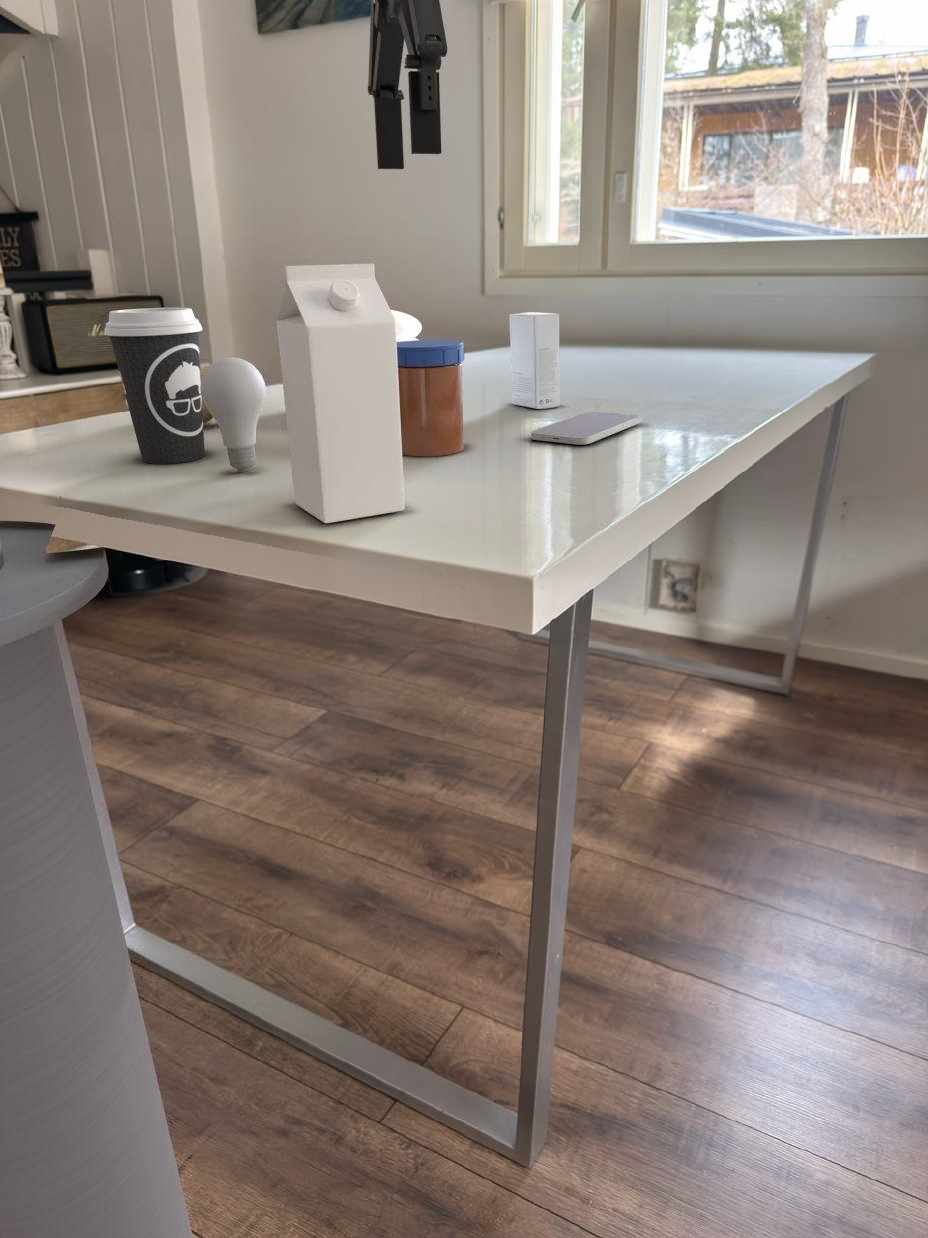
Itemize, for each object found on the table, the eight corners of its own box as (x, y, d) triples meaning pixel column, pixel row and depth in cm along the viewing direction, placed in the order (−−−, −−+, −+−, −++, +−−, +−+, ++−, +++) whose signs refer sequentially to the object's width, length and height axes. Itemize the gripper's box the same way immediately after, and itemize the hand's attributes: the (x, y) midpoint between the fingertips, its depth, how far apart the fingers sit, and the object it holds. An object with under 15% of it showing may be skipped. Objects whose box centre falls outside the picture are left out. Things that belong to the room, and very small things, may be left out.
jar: (428, 459, 89) (424, 353, 85) (379, 450, 94) (373, 349, 90) (478, 447, 94) (476, 346, 90) (429, 439, 99) (426, 342, 95)
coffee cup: (217, 445, 98) (198, 305, 93) (221, 462, 90) (201, 310, 84) (128, 452, 96) (103, 309, 90) (125, 470, 87) (97, 314, 82)
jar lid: (424, 368, 85) (423, 348, 84) (371, 363, 90) (370, 344, 90) (479, 360, 90) (479, 341, 90) (426, 355, 96) (425, 338, 95)
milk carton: (294, 505, 74) (270, 265, 66) (370, 493, 77) (356, 263, 69) (324, 525, 68) (301, 265, 60) (405, 512, 71) (393, 263, 64)
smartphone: (526, 432, 97) (588, 410, 108) (526, 440, 97) (588, 417, 108) (585, 438, 93) (643, 415, 104) (585, 446, 93) (643, 422, 104)
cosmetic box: (561, 406, 117) (563, 312, 113) (534, 410, 115) (535, 314, 111) (534, 401, 122) (535, 310, 118) (508, 404, 120) (508, 312, 115)
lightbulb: (260, 479, 83) (246, 360, 78) (201, 478, 84) (184, 361, 79) (283, 465, 88) (272, 353, 84) (228, 464, 89) (213, 353, 85)
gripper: (481, -158, 68) (484, 146, 76) (401, -54, 90) (410, 174, 98) (389, -169, 66) (403, 144, 74) (330, -59, 88) (346, 173, 96)
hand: (407, 162), depth 86 cm, fingers open, 13 cm apart
